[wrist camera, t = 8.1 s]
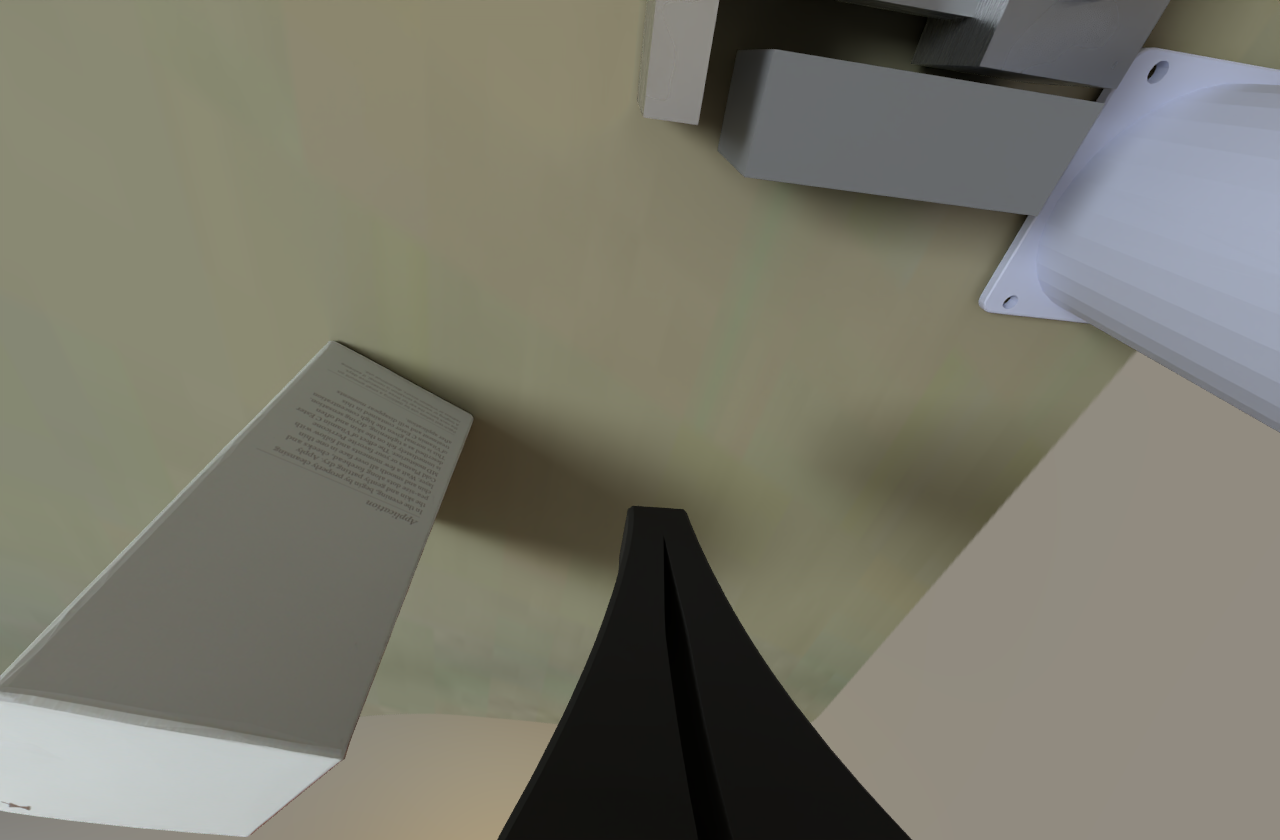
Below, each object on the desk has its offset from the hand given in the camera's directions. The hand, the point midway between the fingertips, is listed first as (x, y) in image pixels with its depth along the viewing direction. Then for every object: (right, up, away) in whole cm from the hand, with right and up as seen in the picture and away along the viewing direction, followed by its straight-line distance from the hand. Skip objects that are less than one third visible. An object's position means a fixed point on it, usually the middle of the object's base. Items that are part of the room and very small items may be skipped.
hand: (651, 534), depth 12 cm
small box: (-12, +2, +10) cm, 16 cm away
